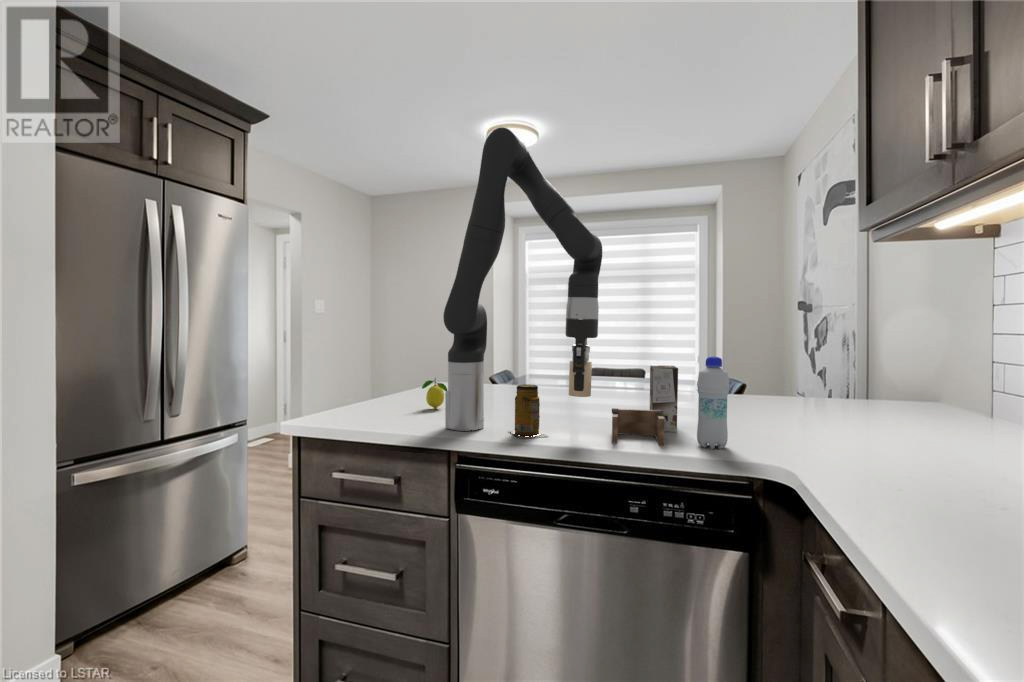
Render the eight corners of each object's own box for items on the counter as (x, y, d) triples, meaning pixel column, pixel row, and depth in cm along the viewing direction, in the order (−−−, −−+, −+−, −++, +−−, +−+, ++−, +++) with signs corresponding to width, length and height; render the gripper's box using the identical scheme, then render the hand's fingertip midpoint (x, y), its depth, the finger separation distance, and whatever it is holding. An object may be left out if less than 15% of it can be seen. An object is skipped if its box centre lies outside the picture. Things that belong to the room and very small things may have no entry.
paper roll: (567, 396, 117) (568, 361, 117) (569, 393, 122) (570, 359, 122) (590, 397, 116) (591, 362, 116) (591, 394, 121) (592, 360, 121)
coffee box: (678, 432, 126) (678, 368, 125) (651, 431, 127) (652, 367, 127) (673, 425, 135) (674, 365, 134) (648, 424, 136) (649, 364, 136)
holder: (611, 442, 115) (611, 412, 114) (611, 432, 126) (612, 404, 125) (665, 445, 112) (665, 414, 112) (661, 434, 123) (661, 406, 123)
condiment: (534, 430, 129) (534, 383, 128) (548, 437, 121) (548, 387, 120) (507, 432, 126) (507, 384, 126) (520, 439, 118) (520, 388, 118)
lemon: (421, 410, 157) (421, 378, 156) (427, 407, 162) (427, 376, 162) (442, 410, 156) (442, 378, 155) (447, 407, 161) (447, 376, 161)
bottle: (727, 444, 114) (728, 355, 113) (729, 451, 107) (731, 357, 107) (695, 441, 116) (696, 355, 115) (696, 448, 110) (697, 357, 109)
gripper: (569, 317, 126) (567, 384, 127) (562, 316, 112) (560, 392, 113) (599, 318, 125) (597, 386, 125) (596, 317, 111) (594, 394, 111)
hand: (579, 388), depth 119 cm, fingers closed on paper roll, 5 cm apart
